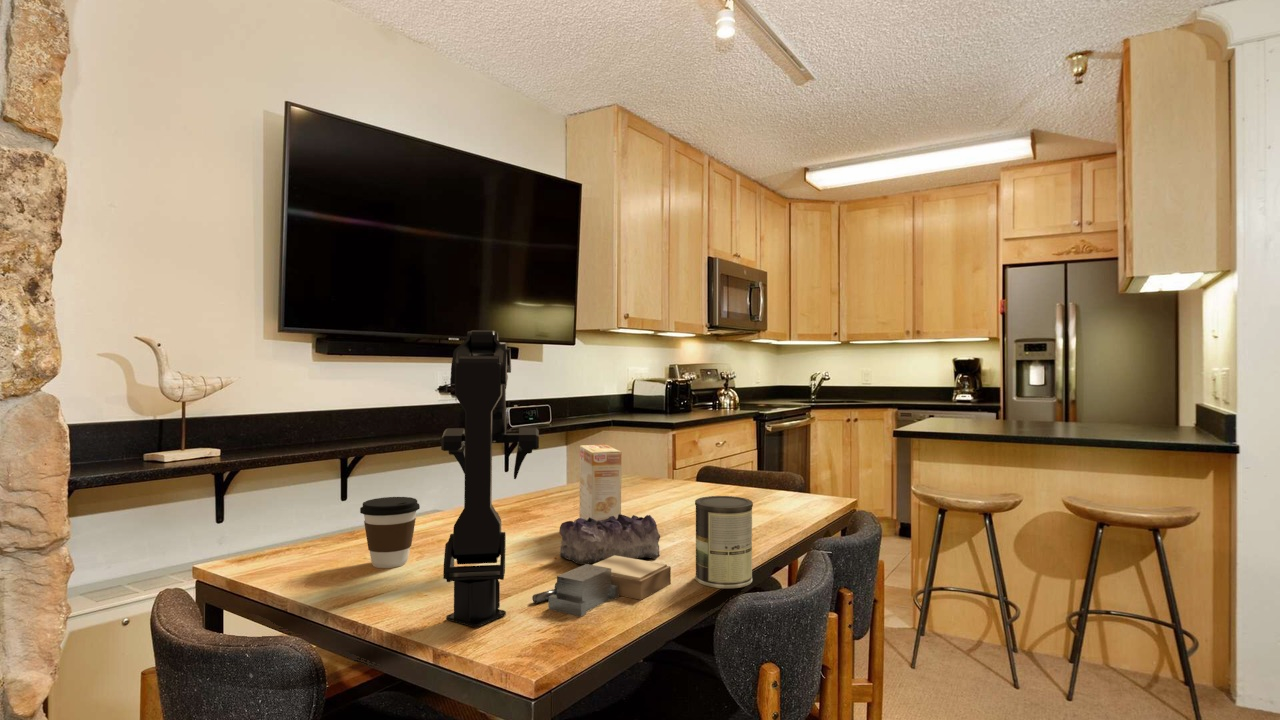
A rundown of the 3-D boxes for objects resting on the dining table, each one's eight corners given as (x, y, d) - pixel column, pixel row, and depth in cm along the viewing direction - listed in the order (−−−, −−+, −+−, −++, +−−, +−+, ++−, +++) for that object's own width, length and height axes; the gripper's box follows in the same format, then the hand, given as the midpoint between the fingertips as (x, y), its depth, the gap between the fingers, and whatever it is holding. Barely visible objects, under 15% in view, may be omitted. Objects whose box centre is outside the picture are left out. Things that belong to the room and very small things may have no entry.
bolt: (539, 605, 109) (539, 590, 109) (530, 601, 111) (530, 586, 111) (568, 596, 113) (568, 582, 113) (559, 593, 115) (559, 579, 115)
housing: (581, 617, 104) (581, 584, 104) (548, 609, 108) (548, 577, 108) (618, 597, 113) (618, 567, 113) (587, 591, 116) (587, 561, 117)
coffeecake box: (622, 539, 151) (622, 451, 151) (590, 541, 149) (590, 452, 150) (607, 524, 166) (607, 443, 166) (578, 526, 164) (578, 444, 164)
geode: (648, 547, 146) (652, 501, 145) (667, 569, 135) (671, 520, 134) (554, 551, 139) (557, 503, 138) (565, 575, 128) (569, 523, 127)
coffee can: (683, 580, 122) (683, 501, 122) (715, 567, 130) (715, 493, 130) (733, 593, 115) (733, 509, 116) (763, 578, 123) (763, 500, 124)
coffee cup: (431, 561, 134) (431, 500, 134) (383, 575, 125) (383, 509, 125) (395, 553, 140) (396, 494, 140) (347, 565, 131) (347, 502, 131)
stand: (640, 599, 112) (640, 578, 112) (581, 587, 118) (581, 567, 118) (670, 583, 120) (670, 564, 120) (613, 572, 127) (613, 554, 127)
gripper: (538, 393, 144) (538, 462, 147) (447, 393, 141) (449, 464, 144) (538, 409, 133) (538, 484, 136) (439, 410, 130) (442, 486, 134)
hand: (491, 478), depth 138 cm, fingers open, 9 cm apart
